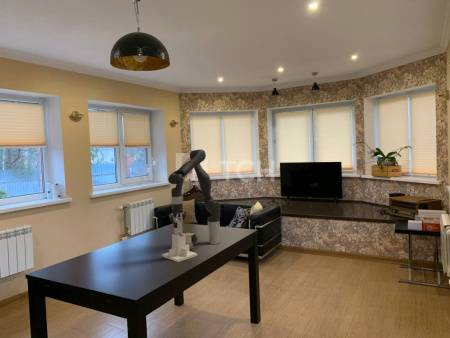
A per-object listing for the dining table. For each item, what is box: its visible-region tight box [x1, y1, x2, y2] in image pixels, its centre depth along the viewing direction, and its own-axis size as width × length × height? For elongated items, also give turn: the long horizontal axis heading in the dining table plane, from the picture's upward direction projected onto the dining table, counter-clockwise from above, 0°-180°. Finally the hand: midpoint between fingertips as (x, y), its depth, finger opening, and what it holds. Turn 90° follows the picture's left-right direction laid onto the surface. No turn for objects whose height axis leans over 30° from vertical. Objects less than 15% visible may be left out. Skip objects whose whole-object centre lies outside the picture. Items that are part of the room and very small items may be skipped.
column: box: [173, 219, 184, 235], centre depth 231 cm, size 4×4×20 cm
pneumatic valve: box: [184, 232, 198, 250], centre depth 250 cm, size 6×12×12 cm, turn 56°
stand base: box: [161, 233, 198, 263], centre depth 232 cm, size 17×18×16 cm
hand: (178, 227), depth 231 cm, fingers closed on column, 4 cm apart
